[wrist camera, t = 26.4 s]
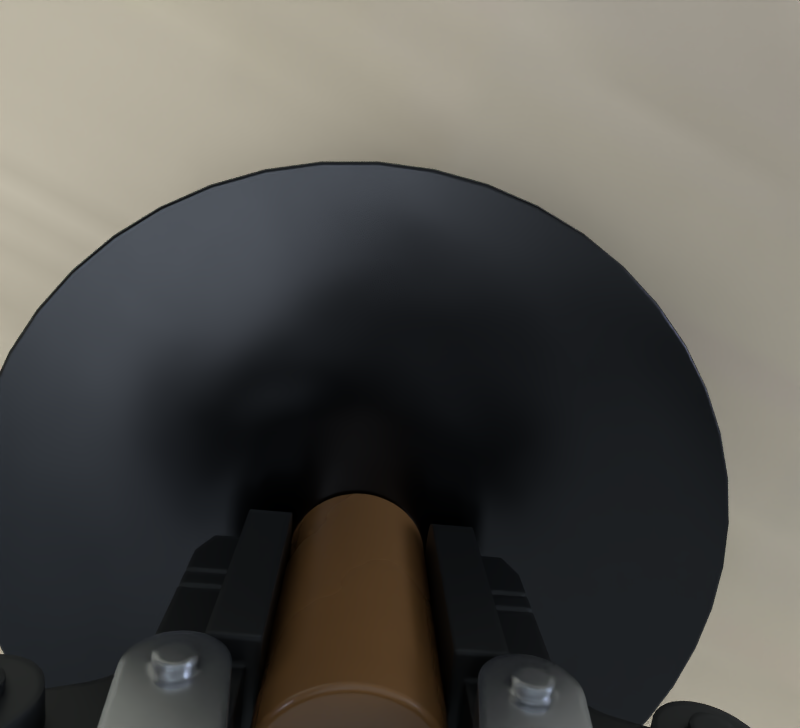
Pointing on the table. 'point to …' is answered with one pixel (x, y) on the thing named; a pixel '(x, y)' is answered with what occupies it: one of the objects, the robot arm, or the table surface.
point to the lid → (360, 439)
